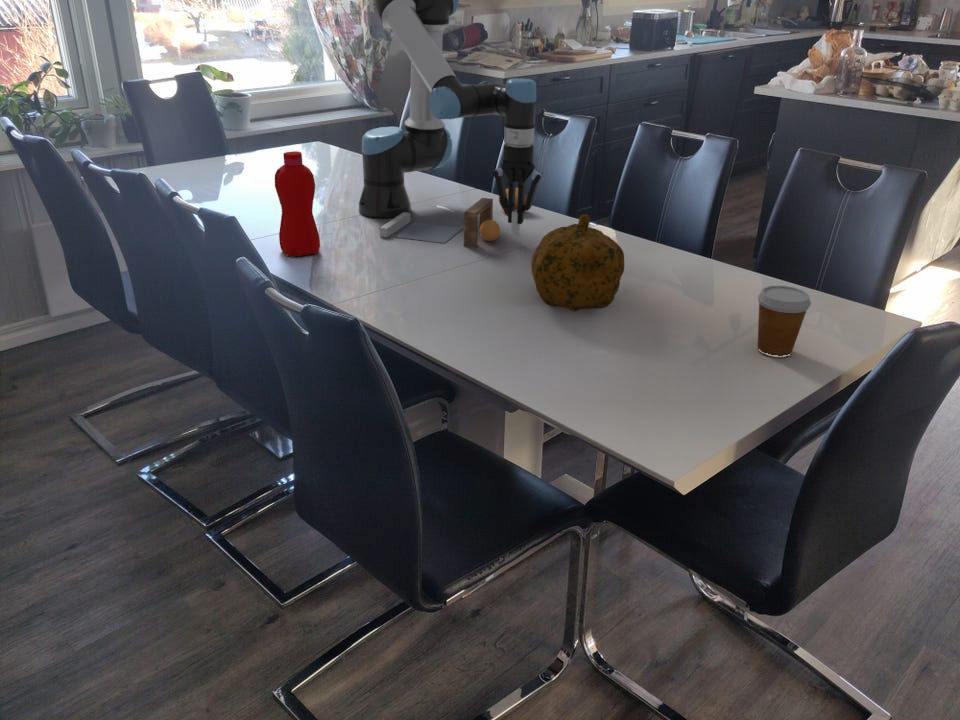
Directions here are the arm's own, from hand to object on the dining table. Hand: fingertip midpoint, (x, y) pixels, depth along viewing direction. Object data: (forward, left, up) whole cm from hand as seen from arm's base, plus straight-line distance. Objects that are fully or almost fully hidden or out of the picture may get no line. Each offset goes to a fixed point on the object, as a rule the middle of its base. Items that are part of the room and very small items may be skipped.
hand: (515, 235), depth 218 cm
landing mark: (-24, 0, -2) cm, 24 cm away
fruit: (-9, +28, -2) cm, 30 cm away
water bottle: (-49, -26, -2) cm, 56 cm away
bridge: (-10, 0, -2) cm, 10 cm away
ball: (-7, 0, +1) cm, 7 cm away
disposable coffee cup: (+66, -46, -2) cm, 81 cm away
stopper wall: (-34, 0, -2) cm, 34 cm away
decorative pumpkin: (+24, -35, -2) cm, 43 cm away
